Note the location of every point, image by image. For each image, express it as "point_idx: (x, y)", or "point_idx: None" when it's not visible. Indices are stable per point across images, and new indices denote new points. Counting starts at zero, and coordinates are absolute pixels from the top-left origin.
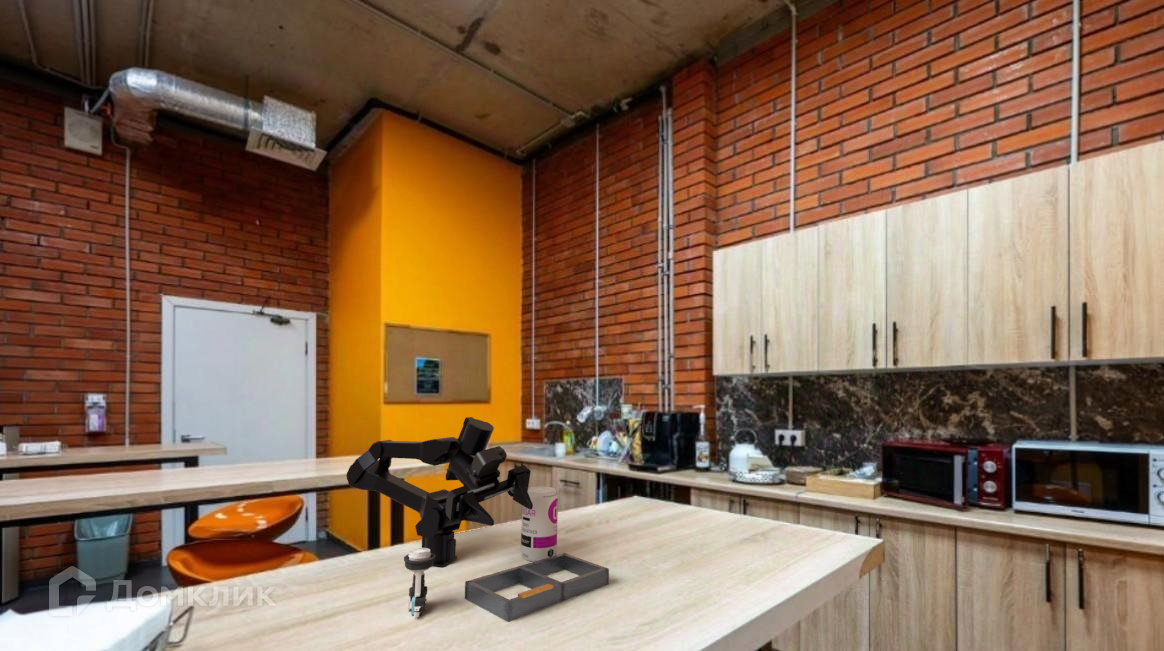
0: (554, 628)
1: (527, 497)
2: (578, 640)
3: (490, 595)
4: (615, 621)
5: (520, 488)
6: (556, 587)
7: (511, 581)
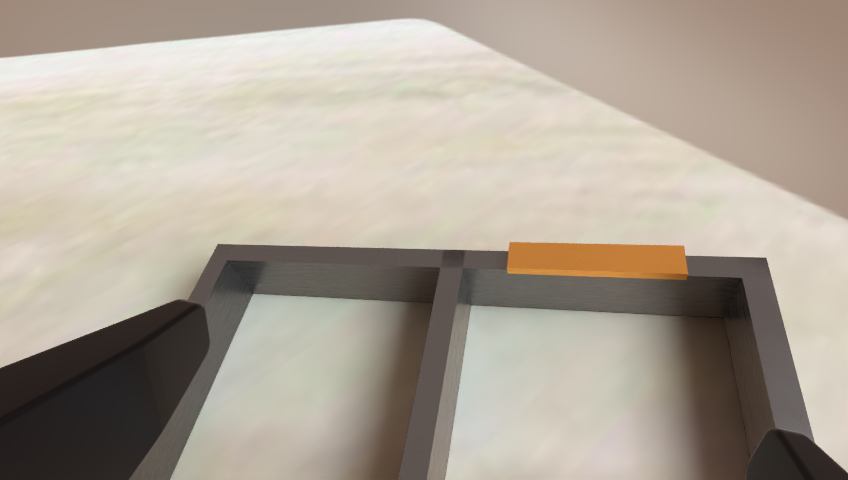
0: (632, 185)
1: (81, 355)
2: (626, 118)
3: (795, 379)
4: (472, 130)
5: None
6: (488, 253)
7: None
